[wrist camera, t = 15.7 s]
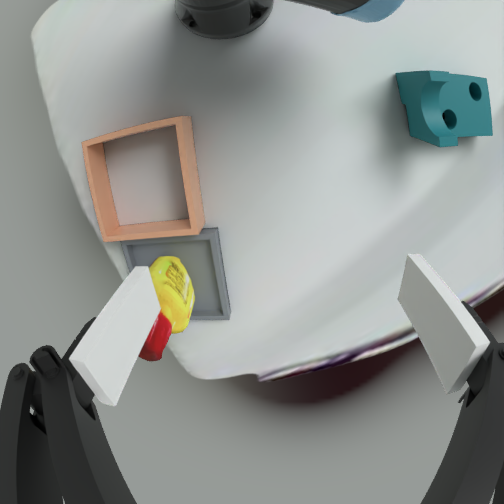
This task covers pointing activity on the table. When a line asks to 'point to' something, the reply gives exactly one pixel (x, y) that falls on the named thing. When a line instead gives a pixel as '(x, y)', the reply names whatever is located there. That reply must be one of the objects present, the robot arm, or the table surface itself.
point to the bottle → (168, 304)
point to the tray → (189, 267)
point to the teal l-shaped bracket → (445, 106)
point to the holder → (103, 193)
